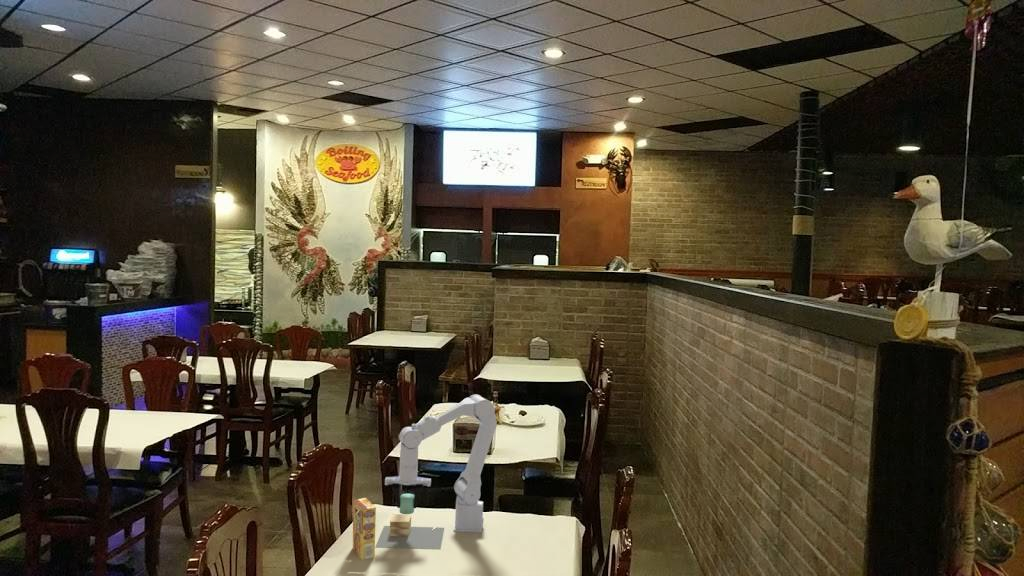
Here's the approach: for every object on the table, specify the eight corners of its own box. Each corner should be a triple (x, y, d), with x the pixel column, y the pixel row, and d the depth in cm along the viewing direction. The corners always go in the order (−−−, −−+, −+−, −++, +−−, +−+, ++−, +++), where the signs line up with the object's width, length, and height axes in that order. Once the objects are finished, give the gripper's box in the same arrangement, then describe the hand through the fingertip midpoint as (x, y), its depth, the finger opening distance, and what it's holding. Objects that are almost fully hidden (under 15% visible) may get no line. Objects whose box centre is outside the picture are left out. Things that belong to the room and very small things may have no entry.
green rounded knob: (414, 508, 207) (415, 493, 207) (413, 514, 202) (414, 498, 202) (400, 508, 206) (400, 493, 206) (398, 514, 202) (399, 498, 202)
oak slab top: (411, 521, 209) (411, 514, 209) (408, 529, 203) (408, 522, 203) (392, 521, 209) (393, 514, 209) (389, 528, 203) (390, 521, 203)
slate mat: (444, 528, 211) (444, 527, 211) (440, 550, 195) (440, 549, 195) (384, 526, 211) (384, 525, 211) (375, 548, 195) (375, 547, 195)
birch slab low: (410, 528, 209) (411, 521, 209) (408, 536, 203) (408, 529, 203) (392, 528, 209) (392, 521, 209) (389, 535, 203) (389, 528, 203)
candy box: (375, 557, 189) (377, 507, 188) (361, 561, 186) (363, 509, 186) (364, 546, 196) (366, 497, 195) (351, 549, 194) (352, 499, 193)
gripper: (383, 468, 200) (382, 511, 200) (430, 470, 200) (428, 512, 201) (387, 461, 207) (385, 502, 207) (432, 463, 207) (430, 504, 208)
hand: (406, 507), depth 204 cm, fingers closed on green rounded knob, 5 cm apart
